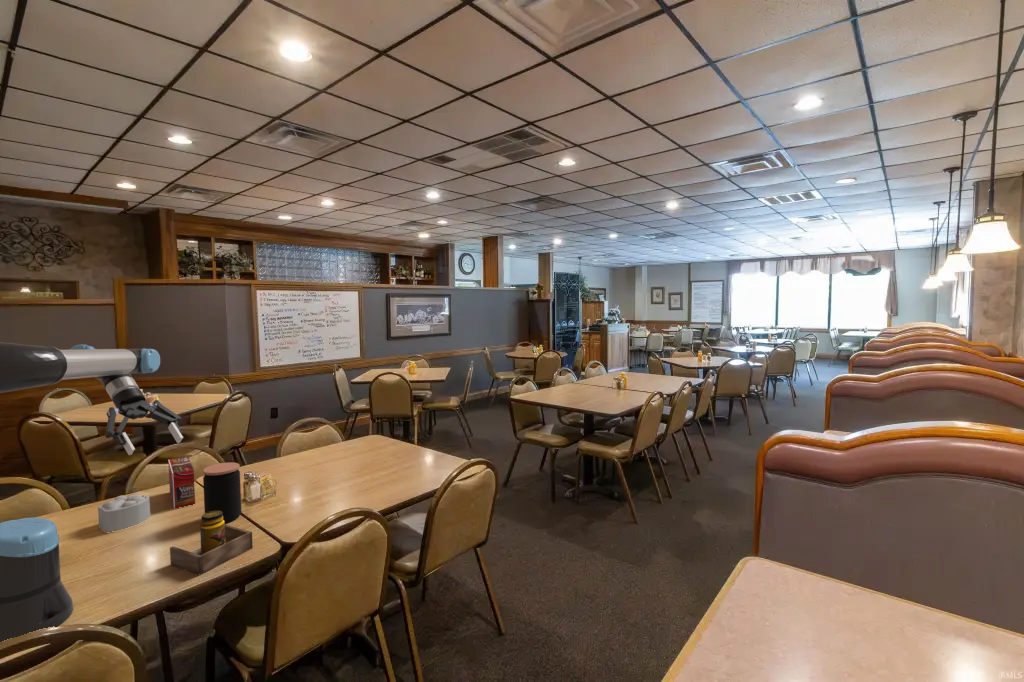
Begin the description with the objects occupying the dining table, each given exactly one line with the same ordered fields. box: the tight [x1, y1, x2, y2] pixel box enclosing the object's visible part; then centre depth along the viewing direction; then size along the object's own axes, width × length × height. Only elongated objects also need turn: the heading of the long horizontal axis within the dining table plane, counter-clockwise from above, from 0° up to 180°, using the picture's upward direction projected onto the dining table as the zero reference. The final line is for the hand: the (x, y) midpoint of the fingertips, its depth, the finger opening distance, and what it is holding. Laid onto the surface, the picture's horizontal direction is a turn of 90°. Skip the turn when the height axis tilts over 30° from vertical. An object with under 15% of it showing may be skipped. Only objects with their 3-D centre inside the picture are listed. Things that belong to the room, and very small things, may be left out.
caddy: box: [169, 524, 254, 576], centre depth 135 cm, size 16×13×5 cm
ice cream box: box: [167, 455, 196, 510], centre depth 176 cm, size 20×6×13 cm, turn 40°
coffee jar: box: [202, 461, 242, 524], centre depth 159 cm, size 11×11×18 cm
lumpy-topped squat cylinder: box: [97, 494, 151, 533], centre depth 156 cm, size 10×13×9 cm
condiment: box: [192, 511, 226, 555], centre depth 134 cm, size 7×8×12 cm
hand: (157, 446), depth 143 cm, fingers open, 13 cm apart
